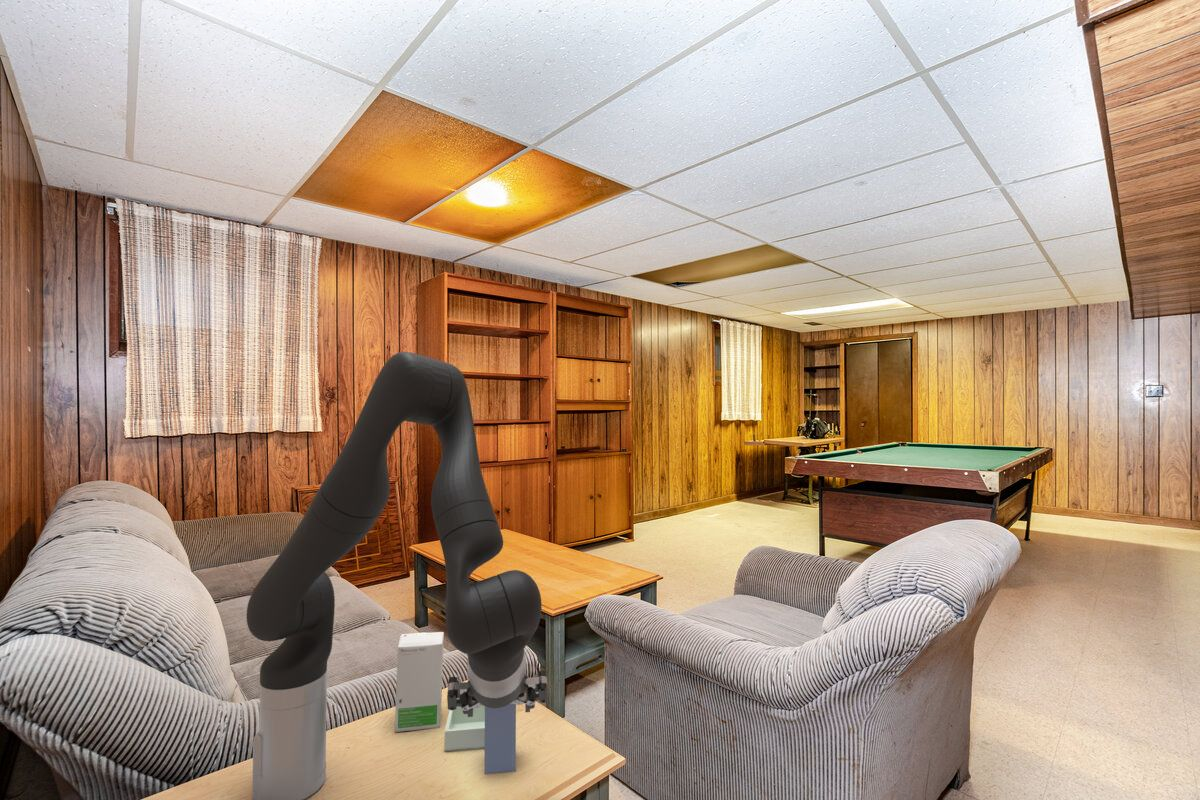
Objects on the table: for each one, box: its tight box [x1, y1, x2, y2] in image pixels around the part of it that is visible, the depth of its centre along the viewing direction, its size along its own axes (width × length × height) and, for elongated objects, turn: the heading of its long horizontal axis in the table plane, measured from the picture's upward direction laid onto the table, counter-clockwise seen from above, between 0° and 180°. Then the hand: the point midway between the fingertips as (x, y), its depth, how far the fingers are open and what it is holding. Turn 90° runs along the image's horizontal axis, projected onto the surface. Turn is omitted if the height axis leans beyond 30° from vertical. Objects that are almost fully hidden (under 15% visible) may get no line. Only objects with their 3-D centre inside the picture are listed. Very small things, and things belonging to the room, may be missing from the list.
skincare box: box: [394, 631, 445, 733], centre depth 104 cm, size 8×7×16 cm
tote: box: [444, 706, 485, 753], centre depth 99 cm, size 10×9×4 cm
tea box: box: [483, 703, 517, 775], centre depth 92 cm, size 5×5×12 cm
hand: (499, 707), depth 84 cm, fingers open, 8 cm apart
